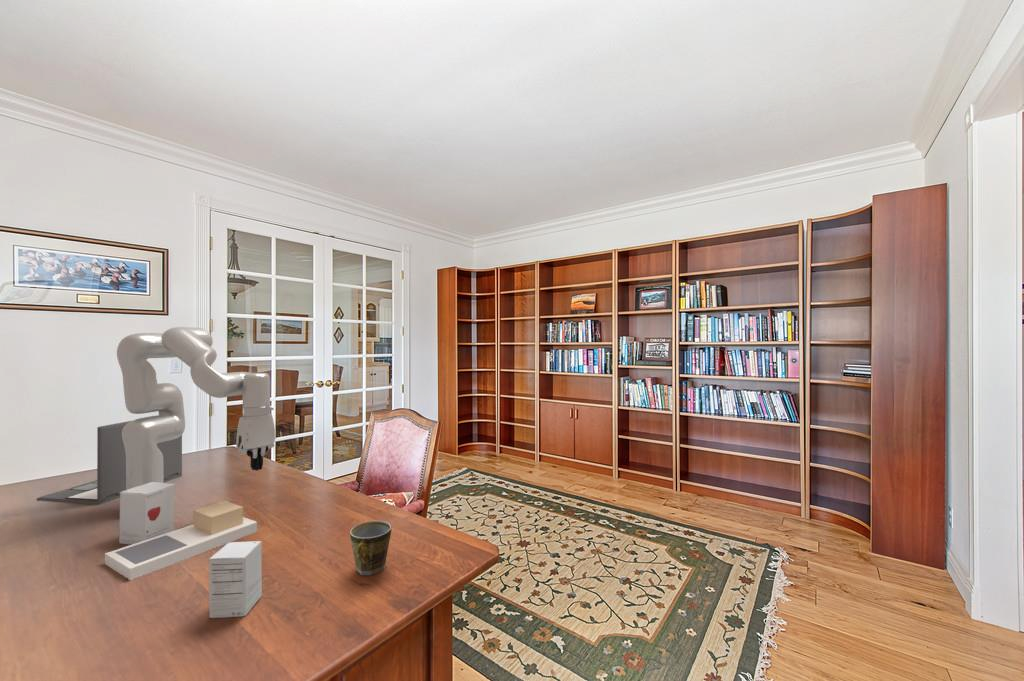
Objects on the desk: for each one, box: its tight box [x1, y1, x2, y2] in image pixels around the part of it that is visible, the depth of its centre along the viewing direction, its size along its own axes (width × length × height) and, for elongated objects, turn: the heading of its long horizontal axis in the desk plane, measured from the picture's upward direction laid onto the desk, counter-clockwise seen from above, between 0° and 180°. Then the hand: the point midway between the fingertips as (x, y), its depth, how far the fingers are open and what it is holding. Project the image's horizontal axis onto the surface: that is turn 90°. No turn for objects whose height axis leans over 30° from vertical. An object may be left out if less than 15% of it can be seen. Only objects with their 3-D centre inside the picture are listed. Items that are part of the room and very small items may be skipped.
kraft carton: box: [193, 500, 244, 535], centre depth 125 cm, size 10×8×5 cm
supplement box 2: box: [208, 540, 263, 619], centre depth 91 cm, size 7×7×13 cm
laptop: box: [36, 420, 183, 506], centre depth 164 cm, size 32×26×28 cm
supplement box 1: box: [119, 482, 176, 545], centre depth 123 cm, size 9×9×15 cm
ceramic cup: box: [349, 520, 392, 576], centre depth 106 cm, size 13×10×10 cm
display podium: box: [104, 516, 258, 581], centre depth 118 cm, size 15×30×3 cm, turn 151°
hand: (256, 469), depth 134 cm, fingers closed
